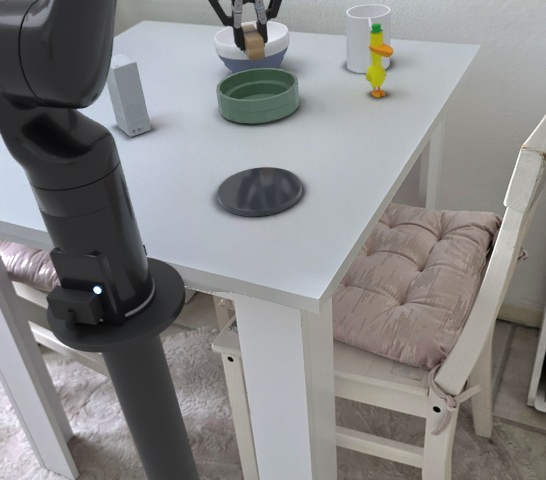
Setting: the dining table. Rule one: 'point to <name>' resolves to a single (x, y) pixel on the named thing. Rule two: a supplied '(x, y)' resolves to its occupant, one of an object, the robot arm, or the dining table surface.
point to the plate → (259, 191)
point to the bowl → (238, 58)
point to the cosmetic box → (127, 96)
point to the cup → (365, 35)
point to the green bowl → (258, 95)
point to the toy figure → (377, 59)
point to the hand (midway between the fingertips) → (252, 47)
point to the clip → (253, 43)
